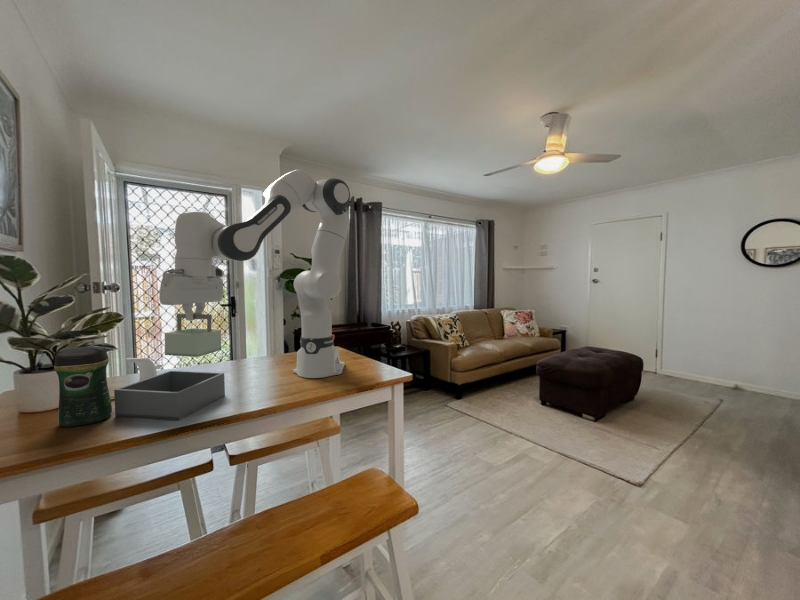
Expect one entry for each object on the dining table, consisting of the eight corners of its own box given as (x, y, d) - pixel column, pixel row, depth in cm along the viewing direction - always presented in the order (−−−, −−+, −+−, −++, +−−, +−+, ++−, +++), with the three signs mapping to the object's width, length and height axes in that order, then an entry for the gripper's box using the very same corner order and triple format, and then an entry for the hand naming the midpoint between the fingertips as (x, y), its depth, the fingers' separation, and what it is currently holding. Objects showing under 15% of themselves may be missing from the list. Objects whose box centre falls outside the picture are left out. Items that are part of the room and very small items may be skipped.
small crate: (191, 348, 99) (190, 312, 98) (221, 349, 98) (221, 313, 97) (164, 355, 89) (164, 315, 89) (197, 356, 88) (197, 316, 88)
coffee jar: (115, 411, 89) (112, 342, 88) (105, 422, 82) (101, 348, 81) (67, 417, 85) (63, 345, 84) (52, 430, 78) (47, 352, 77)
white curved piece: (127, 398, 99) (125, 358, 98) (142, 391, 105) (141, 354, 104) (142, 398, 99) (141, 358, 98) (157, 391, 105) (155, 354, 104)
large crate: (171, 392, 104) (170, 370, 103) (224, 395, 101) (224, 373, 101) (115, 416, 86) (114, 389, 85) (178, 420, 84) (177, 393, 83)
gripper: (175, 268, 82) (175, 324, 82) (227, 271, 102) (227, 316, 103) (151, 267, 82) (152, 323, 83) (208, 271, 103) (208, 315, 103)
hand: (194, 319), depth 93 cm, fingers closed on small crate
